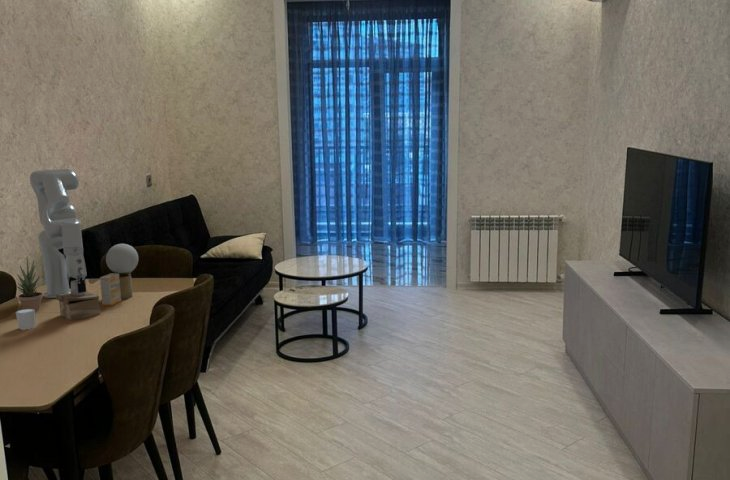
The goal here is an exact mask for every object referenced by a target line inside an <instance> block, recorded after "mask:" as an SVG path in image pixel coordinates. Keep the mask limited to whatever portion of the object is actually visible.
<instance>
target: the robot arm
mask: <svg viewBox="0 0 730 480" xmlns="http://www.w3.org/2000/svg"><path fill="white" fill-rule="evenodd" d="M29 182H30V186H31V188H32V189H33V192H34V194H35V196H36V199H37V208H38V215H39V221H40V224H41V225H42V226H43V229H44V230H42V231H41V232H40V233H39V234H38V243H39V246H40V251H41V254H42V262H43V268H44V271H43V272H44V276H45V280H44V281H45V287H46V292H44V293H43V298H45V299H57V295H58V294H67V293H71V281H74V280H77V281H78V284H77V286H78V293H82V292H86V291H87V285H86V283H87V282H86V277H87V276H88V275H87V267H86V262H85V257H84V246H83V245H84V244H83V237H82V236H83V234H82V222H81V221H80V220H79V219H78V215H77V210H76V208H75V207H74V206H73V205H72V204H70V201H71V200H70V196H69V194H68V191H71V190H72V191H73V190H77V189H78V188H79V178H78V176H77V174H76V172H75V171H73V170H72V169H69V168H58V169H57V168H56V169H42V170H41V169H40V170H37V171H35V170H34V171H32V172H31V173H30V175H29ZM61 249H63V253H62V252H60V251H59V250H61Z"/></svg>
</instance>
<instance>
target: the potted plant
mask: <svg viewBox="0 0 730 480" xmlns="http://www.w3.org/2000/svg"><path fill="white" fill-rule="evenodd" d="M35 267H36V264H35V259H33V262H32V263H31V268H30V269H29V259H28V257H26V272H25V270H24V269H23V267H22V266H21V265H19V269H20V272H21V274H22V277H23V278H24V279H23V278H22V277H21V276H20V275H19V274H18V273H17V274H16V275H17V277H18V279H19V282H20V283H19V282H18V283H17V284H18V285H16V288H18V291H19V292H21V294H19V295H18V300H19V302H20V304H21V306H22V310H23V309H34V310H35V313H37V312H39V311H40V308H41V303H42V298H44V293H43V292H39V291H38V290H36V289H37V288H38V287H37V286H36V285H37V284H38V281H39V279H40V276H38V277H37V279H36V280H35V281H34V279H35V276H36V274H37V273H36V272H35ZM29 270H30V271H29ZM19 286H20V287H19Z"/></svg>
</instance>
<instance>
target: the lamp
mask: <svg viewBox="0 0 730 480" xmlns="http://www.w3.org/2000/svg"><path fill="white" fill-rule="evenodd" d="M105 263H106V265H107V267H108V269H109V270H111V272H113V273H118V274H119V280H120V291H121V301H124V300H128V299H130V297H131V298H133V296H134V294H133V292H134V291H133V285H132V284H133V283H132V282H133V281H132V275H131V273H132V272H133V271H134V270H135V269H136V268H137V266H138V264H139V253H138V252H137V250H136V249H135V248H134V247H133V246H132V245H129V244H127V243H118V244H114V245H113V246H111V248H109V250H108V251H107V253H106V255H105Z"/></svg>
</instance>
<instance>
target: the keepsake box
mask: <svg viewBox="0 0 730 480" xmlns="http://www.w3.org/2000/svg"><path fill="white" fill-rule="evenodd" d="M99 298H100V297H99ZM99 298H96V299H87V300H78V301H69V305H67V304H65V303H63V302H61V301H58V302H59V304H58V305H59V310H60V311H59V312H60V316H62V317H64V318H65V319H68V320H70V321H76V320H80V319H85V318H88V317H94V316H99V315H101V311H100V299H99Z"/></svg>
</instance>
